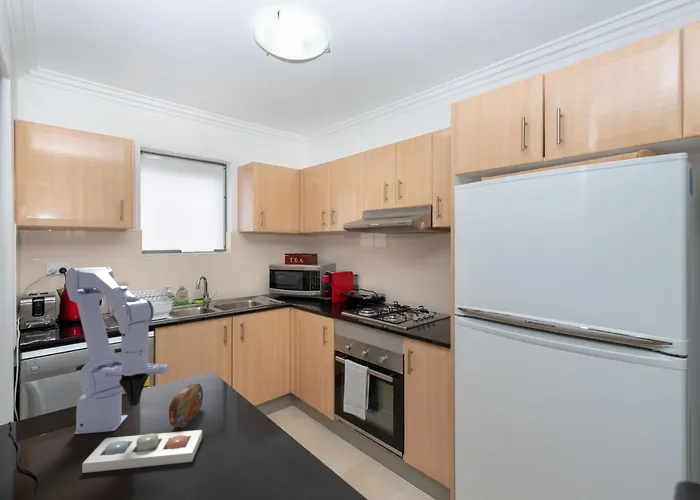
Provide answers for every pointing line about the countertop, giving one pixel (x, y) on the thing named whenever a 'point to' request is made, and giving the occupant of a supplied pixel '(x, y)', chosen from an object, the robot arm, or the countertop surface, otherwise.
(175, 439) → the terracotta button
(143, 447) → the sage button
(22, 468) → the countertop surface
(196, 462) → the countertop surface
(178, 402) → the tin
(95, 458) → the button panel
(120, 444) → the slate button
